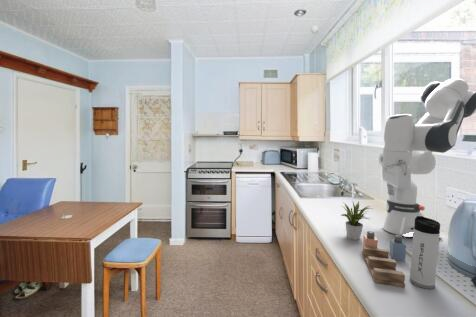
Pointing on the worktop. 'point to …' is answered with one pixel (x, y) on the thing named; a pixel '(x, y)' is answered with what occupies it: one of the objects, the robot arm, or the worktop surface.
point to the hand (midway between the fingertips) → (394, 197)
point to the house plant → (354, 221)
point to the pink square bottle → (370, 240)
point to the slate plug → (397, 248)
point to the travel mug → (424, 252)
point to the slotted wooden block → (383, 267)
